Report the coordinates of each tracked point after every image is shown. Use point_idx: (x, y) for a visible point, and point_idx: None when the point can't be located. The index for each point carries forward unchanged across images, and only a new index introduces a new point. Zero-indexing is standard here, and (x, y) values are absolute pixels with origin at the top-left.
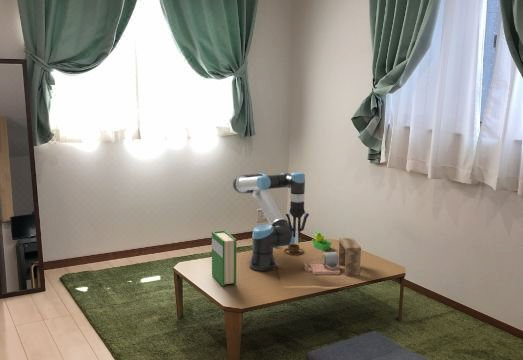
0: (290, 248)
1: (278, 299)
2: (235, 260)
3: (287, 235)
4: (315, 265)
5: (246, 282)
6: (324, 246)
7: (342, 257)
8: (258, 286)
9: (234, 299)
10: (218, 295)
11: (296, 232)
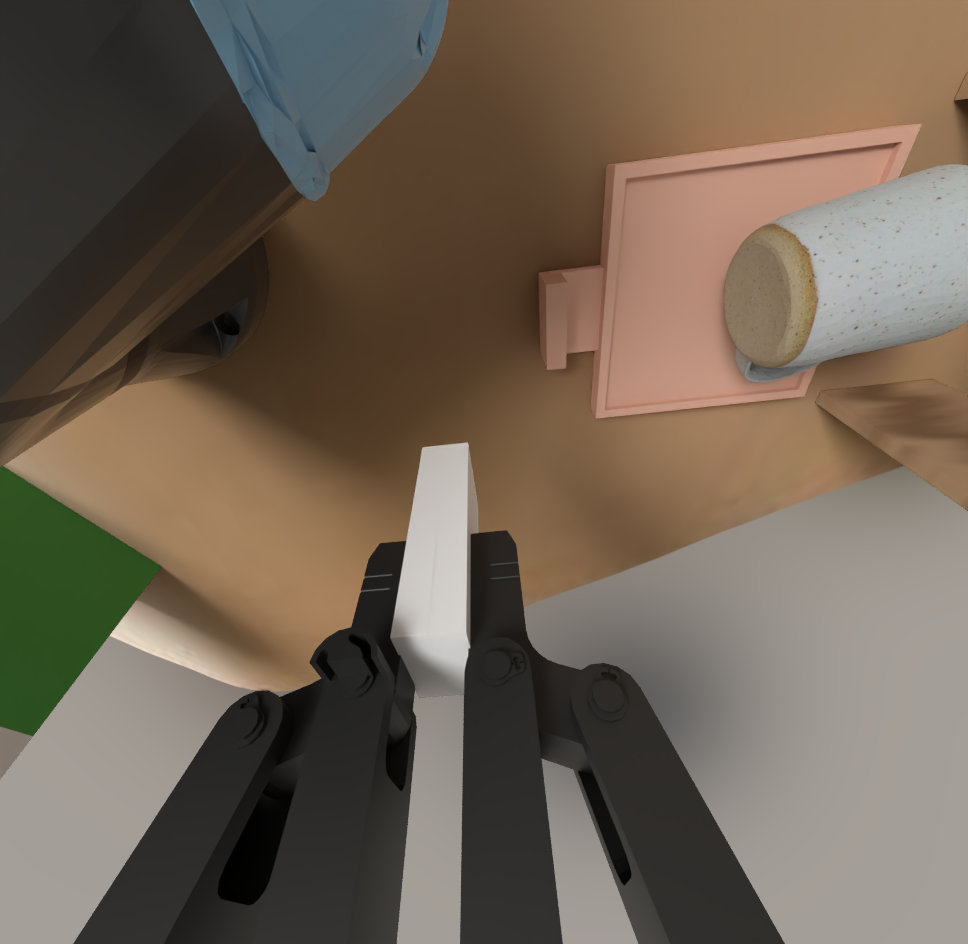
0: None
1: None
2: (53, 705)
3: (175, 269)
4: (659, 238)
5: (199, 546)
6: None
7: None
8: (283, 576)
9: (243, 660)
10: (163, 645)
11: (440, 683)
